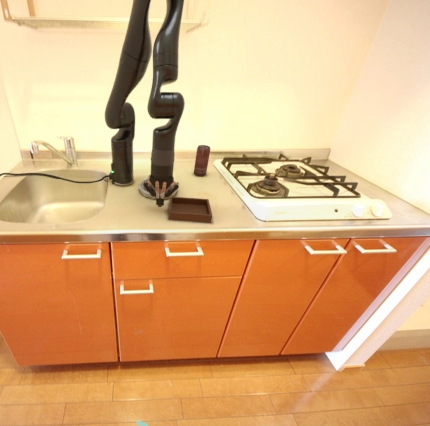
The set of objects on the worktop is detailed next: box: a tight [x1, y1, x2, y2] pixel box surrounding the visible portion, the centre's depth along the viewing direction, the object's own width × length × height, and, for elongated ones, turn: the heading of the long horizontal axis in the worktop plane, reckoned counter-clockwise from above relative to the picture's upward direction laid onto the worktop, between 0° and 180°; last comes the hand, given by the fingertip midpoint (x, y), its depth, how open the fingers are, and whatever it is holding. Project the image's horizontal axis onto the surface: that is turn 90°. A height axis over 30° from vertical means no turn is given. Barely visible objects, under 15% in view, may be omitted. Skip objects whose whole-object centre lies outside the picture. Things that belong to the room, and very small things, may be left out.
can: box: [193, 144, 211, 178], centre depth 109 cm, size 6×6×14 cm
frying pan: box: [138, 174, 179, 200], centre depth 102 cm, size 17×3×28 cm
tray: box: [168, 196, 213, 224], centre depth 83 cm, size 15×12×3 cm
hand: (159, 205), depth 84 cm, fingers closed
